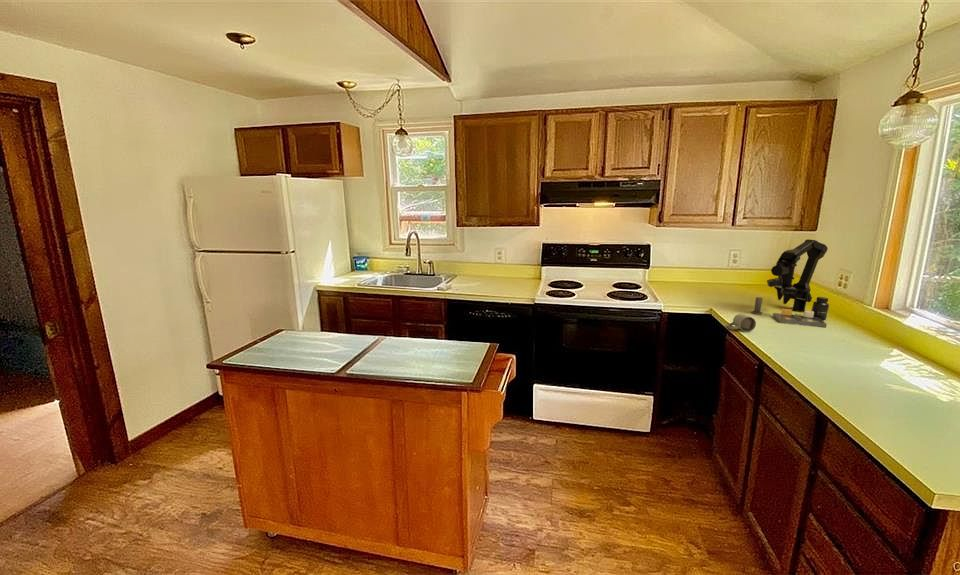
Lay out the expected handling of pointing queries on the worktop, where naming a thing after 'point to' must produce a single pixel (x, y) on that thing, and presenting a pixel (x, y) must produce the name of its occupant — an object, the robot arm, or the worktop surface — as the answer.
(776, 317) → the breaker panel
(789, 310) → the amber toggle
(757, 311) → the post
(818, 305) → the supplement bottle
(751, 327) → the ceramic mug
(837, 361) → the worktop surface
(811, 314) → the ivory toggle
